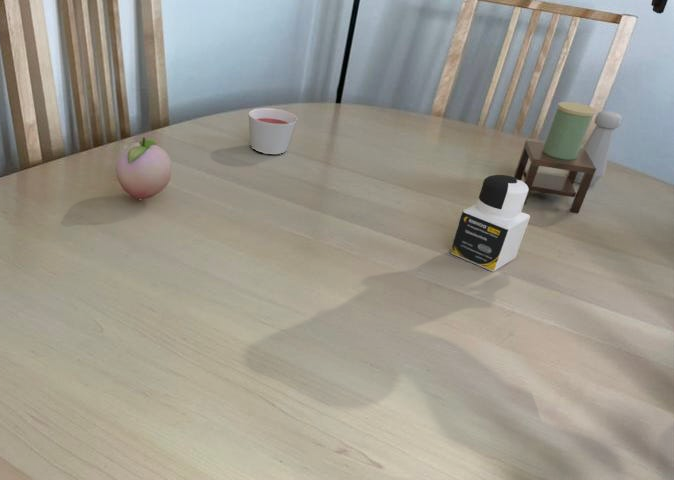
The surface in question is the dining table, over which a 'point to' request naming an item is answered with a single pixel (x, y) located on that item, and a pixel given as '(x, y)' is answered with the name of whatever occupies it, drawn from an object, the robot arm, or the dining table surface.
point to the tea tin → (568, 130)
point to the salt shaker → (600, 143)
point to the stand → (554, 182)
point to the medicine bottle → (493, 224)
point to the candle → (271, 129)
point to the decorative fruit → (143, 169)
